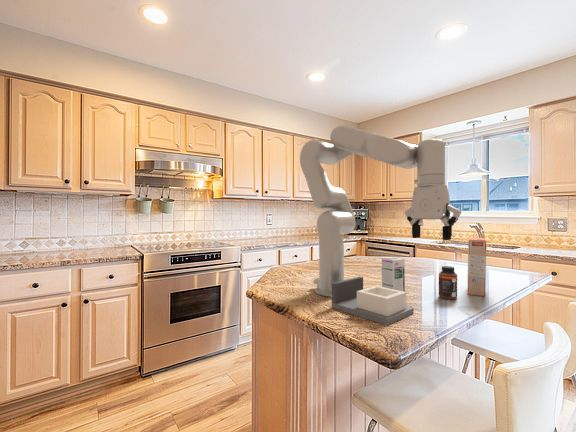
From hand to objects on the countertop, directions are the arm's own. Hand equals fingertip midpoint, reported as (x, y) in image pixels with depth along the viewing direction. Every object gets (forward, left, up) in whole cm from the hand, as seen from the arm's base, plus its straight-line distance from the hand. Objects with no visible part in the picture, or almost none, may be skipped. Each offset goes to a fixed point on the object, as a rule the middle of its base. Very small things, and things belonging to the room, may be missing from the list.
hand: (430, 238), depth 89 cm
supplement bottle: (-4, +23, -23) cm, 33 cm away
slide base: (-14, -10, -23) cm, 29 cm away
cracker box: (0, +40, -23) cm, 47 cm away
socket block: (-11, -10, -22) cm, 26 cm away
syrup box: (-17, +8, -23) cm, 30 cm away
